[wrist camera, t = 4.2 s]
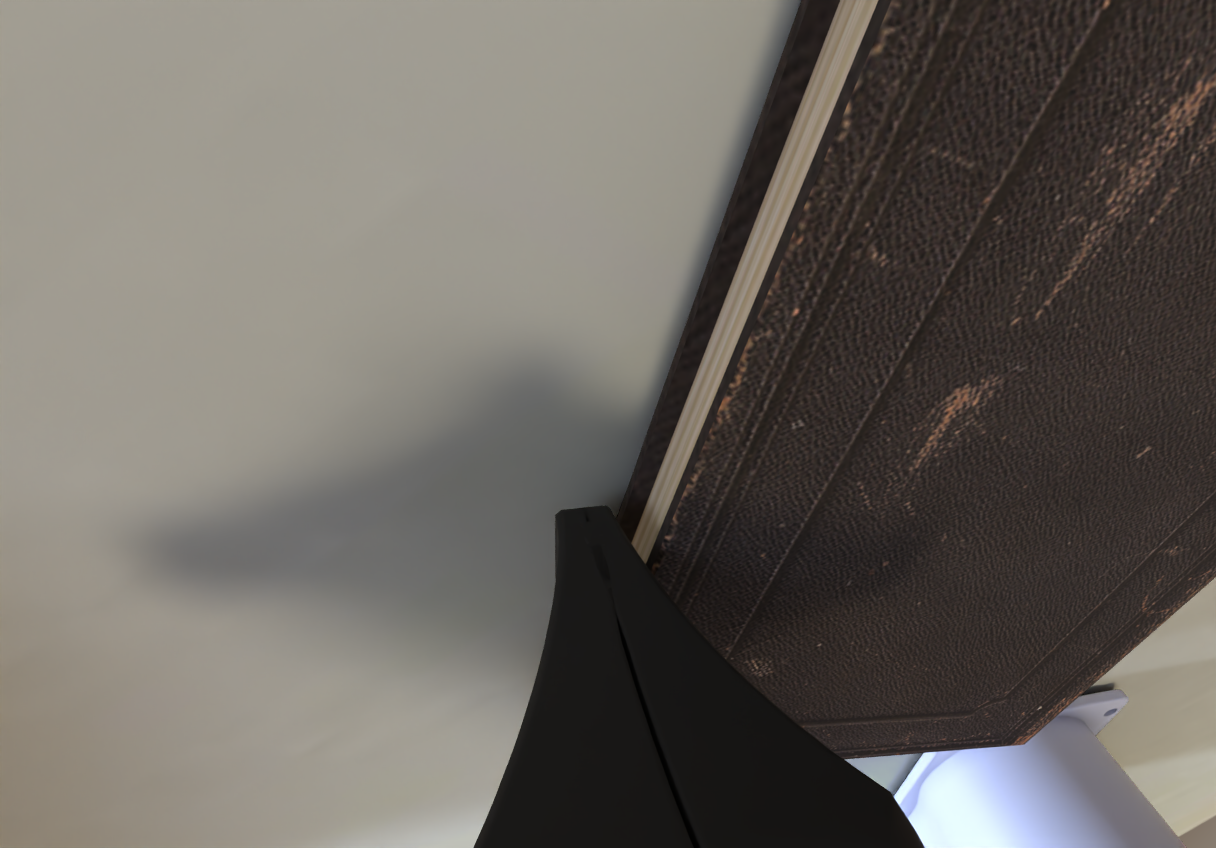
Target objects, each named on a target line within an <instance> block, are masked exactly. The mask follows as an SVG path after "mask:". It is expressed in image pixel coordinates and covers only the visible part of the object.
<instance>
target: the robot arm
mask: <svg viewBox="0 0 1216 848" xmlns="http://www.w3.org/2000/svg"><path fill="white" fill-rule="evenodd" d="M555 561H556V583H555V591H554V599H553V605H552V610H551V615H550V620H549V625H548V630H547V635H546V640H545V644H544V649H543V653H542V657H541V661H540V665H539V669H538V672H537V676H536V679H535V683H534V687H533V690H532V694H531V697H530V700H529V703H528V706H527V710H526V713H525V716H524V719H523V722H522V725H521V729H520V731H519V734H518V737H517V740H516V743H515V746H514V749H513V752H512V754H511V757H510V760H509V762H508V765H507V767H506V770H505V773H504V775H503V778H502V780H501V783H500V786H499V788H498V791H497V794H496V796H495V799H494V801H493V804H492V806H491V809H490V811H489V814H488V816H487V818H486V821H485V823H484V825H483V827H482V830H481V832H480V834H479V836H478V839H477V841H476V843H475V846H474V848H1187V847H1186V846H1185V845H1184V844H1183V842H1182V841H1181V840H1180V839H1179V837H1178V836H1177V835H1176V834H1175V833H1174V831H1173V830H1172V829H1171V828H1170V826H1169V825H1168V824H1167V823H1166V822H1165V820H1164V819H1163V818H1162V817H1161V815H1160V814H1159V813H1158V812H1157V811H1156V809H1155V808H1154V807H1153V806H1152V804H1151V803H1150V802H1149V801H1148V800H1147V798H1146V797H1145V796H1144V795H1143V793H1142V792H1141V791H1140V790H1139V789H1138V787H1137V786H1136V785H1135V784H1134V782H1133V781H1132V780H1131V779H1130V778H1129V776H1128V775H1127V774H1126V773H1125V771H1124V770H1123V769H1122V768H1121V767H1120V765H1119V764H1118V763H1117V762H1116V760H1115V759H1114V758H1113V757H1112V756H1111V754H1110V753H1109V752H1108V751H1107V749H1106V748H1105V747H1104V746H1103V745H1102V743H1101V742H1100V741H1099V740H1098V738H1097V737H1096V735H1097V734H1098V733H1099V732H1100V731H1101V730H1102V729H1103V728H1104V727H1105V726H1106V724H1107V723H1108V722H1109V721H1110V720H1111V719H1112V718H1113V717H1114V716H1115V715H1116V714H1117V713H1118V712H1119V711H1120V710H1121V709H1122V708H1123V707H1124V706H1125V705H1126V704H1127V703H1128V700H1129V698H1128V697H1127V696H1126V695H1125V693H1124V692H1123V691H1122V690H1119V689H1115V690H1109V691H1104V692H1098V693H1093V694H1088V695H1082V696H1079V697H1078V698H1077V699H1076V700H1075V701H1074V702H1072V703H1071V704H1070V705H1069V706H1068V707H1067V708H1066V709H1064V710H1063V711H1062V712H1061V713H1060V714H1059V715H1058V716H1056V717H1055V718H1054V719H1053V720H1052V721H1051V722H1050V723H1048V724H1047V725H1046V726H1045V727H1044V728H1043V729H1042V730H1040V731H1039V732H1038V733H1037V734H1036V735H1035V736H1034V737H1033V738H1031V739H1030V740H1029V741H1028V742H1027V743H1026V744H1025V745H1016V746H1003V747H991V748H978V749H966V750H953V751H941V752H928V753H923V755H922V756H921V758H920V759H919V760H918V762H917V763H916V765H915V766H914V768H913V769H912V771H911V772H910V774H909V775H908V777H907V778H906V779H905V781H904V782H903V784H902V785H901V787H900V788H899V790H898V791H897V793H896V794H895V796H894V797H893V795H892V794H891V792H890V791H888V790H887V789H885V788H884V787H882V786H881V785H879V784H878V783H876V782H875V781H874V780H872V779H871V778H869V777H868V776H866V775H865V774H863V773H862V772H861V771H859V770H858V769H856V768H855V767H854V766H852V765H851V764H849V763H848V762H847V761H845V760H844V759H843V758H841V757H840V756H838V755H837V754H836V753H834V752H833V751H832V750H830V749H829V748H828V747H826V746H825V745H824V744H823V743H821V742H820V741H819V740H817V739H816V738H815V737H814V736H812V735H811V734H810V733H808V732H807V731H806V730H805V729H803V728H802V727H801V726H800V725H798V724H797V723H796V722H795V721H794V720H793V719H791V718H790V717H789V716H788V715H787V714H786V713H784V712H783V711H782V710H781V709H780V708H779V707H777V706H776V705H775V704H774V703H773V702H772V701H770V700H769V699H768V698H767V697H766V696H765V695H763V694H762V693H761V692H760V691H759V690H758V689H756V688H755V687H754V686H753V685H752V684H751V683H750V682H749V681H748V680H747V679H746V678H745V677H744V676H743V675H742V674H741V673H739V672H738V671H737V670H736V669H735V668H734V667H733V666H732V665H731V664H730V663H729V662H728V661H727V660H726V659H725V658H724V657H723V656H722V655H721V654H720V653H719V652H718V651H717V650H716V649H715V648H714V647H713V646H712V644H711V643H710V642H709V641H708V640H707V639H706V638H705V637H704V636H703V635H702V634H701V632H700V631H699V630H698V629H697V628H696V627H695V626H694V625H693V623H692V622H691V621H690V620H689V619H688V618H687V616H686V615H685V614H684V613H683V612H682V611H681V609H680V608H679V607H678V606H677V605H676V603H675V602H674V601H673V600H672V598H671V597H670V596H669V595H668V593H667V592H666V591H665V590H664V588H663V587H662V586H661V584H660V583H659V582H658V580H657V579H656V578H655V576H654V575H653V574H652V572H651V571H650V570H649V568H648V567H647V566H646V564H645V563H644V561H643V560H642V559H641V557H640V556H639V554H638V553H637V551H636V550H635V548H634V547H633V545H632V544H631V542H630V541H629V539H628V538H627V536H626V534H625V533H624V531H623V530H622V528H621V526H620V525H619V523H618V521H617V520H616V518H615V516H614V514H613V512H612V511H611V509H610V508H608V507H607V506H606V505H605V506H596V507H586V508H577V509H567V510H561V511H560V512H558V513H557V514H556V515H555Z"/></svg>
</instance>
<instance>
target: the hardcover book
mask: <svg viewBox="0 0 1216 848" xmlns="http://www.w3.org/2000/svg"><path fill="white" fill-rule="evenodd" d="M616 520H617V521H618V523H619V525H620V526H621V528H622V530H623V531H624V533H625V534H626V536H627V538H628V539H629V541H630V542H631V544H632V545H633V547H634V548H635V550H636V551H637V553H638V554H639V556H640V557H641V559H642V560H643V561H644V563H645V564H646V566H647V567H648V568H649V570H650V571H651V572H652V574H653V575H654V576H655V578H656V579H657V580H658V582H659V583H660V584H661V586H662V587H663V588H664V590H665V591H666V592H667V593H668V595H669V596H670V597H671V598H672V600H673V601H674V602H675V603H676V605H677V606H678V607H679V608H680V609H681V611H682V612H683V613H684V614H685V615H686V616H687V618H688V619H689V620H690V621H691V622H692V623H693V625H694V626H695V627H696V628H697V629H698V630H699V631H700V632H701V634H702V635H703V636H704V637H705V638H706V639H707V640H708V641H709V642H710V643H711V644H712V646H713V647H714V648H715V649H716V650H717V651H718V652H719V653H720V654H721V655H722V656H723V657H724V658H725V659H726V660H727V661H728V662H729V663H730V664H731V665H732V666H733V667H734V668H735V669H736V670H737V671H738V672H739V673H741V674H742V675H743V676H744V677H745V678H746V679H747V680H748V681H749V682H750V683H751V684H752V685H753V686H754V687H755V688H756V689H758V690H759V691H760V692H761V693H762V694H763V695H765V696H766V697H767V698H768V699H769V700H770V701H772V702H773V703H774V704H775V705H776V706H777V707H779V708H780V709H781V710H782V711H783V712H784V713H786V714H787V715H788V716H789V717H790V718H791V719H793V720H794V721H795V722H796V723H797V724H798V725H800V726H801V727H802V728H803V729H805V730H806V731H807V732H808V733H810V734H811V735H812V736H814V737H815V738H816V739H817V740H819V741H820V742H821V743H823V744H824V745H825V746H826V747H828V748H829V749H830V750H832V751H833V752H834V753H836V754H837V755H838V756H840V757H841V758H843V759H853V758H866V757H878V756H891V755H903V754H916V753H928V752H941V751H953V750H966V749H978V748H991V747H1003V746H1016V745H1025V744H1026V743H1027V742H1028V741H1029V740H1030V739H1031V738H1033V737H1034V736H1035V735H1036V734H1037V733H1038V732H1039V731H1040V730H1042V729H1043V728H1044V727H1045V726H1046V725H1047V724H1048V723H1050V722H1051V721H1052V720H1053V719H1054V718H1055V717H1056V716H1058V715H1059V714H1060V713H1061V712H1062V711H1063V710H1064V709H1066V708H1067V707H1068V706H1069V705H1070V704H1071V703H1072V702H1074V701H1075V700H1076V699H1077V698H1078V697H1079V696H1080V695H1082V694H1083V693H1084V692H1085V691H1086V690H1087V689H1088V688H1090V687H1091V686H1092V685H1093V684H1094V683H1095V682H1096V681H1098V680H1099V679H1100V678H1101V677H1102V676H1103V675H1104V674H1106V673H1107V672H1108V671H1109V670H1110V669H1111V668H1112V667H1114V666H1115V665H1116V664H1117V663H1118V662H1119V661H1120V660H1122V659H1123V658H1124V657H1125V656H1126V655H1127V654H1128V653H1130V652H1131V651H1132V650H1133V649H1134V648H1135V647H1136V646H1138V645H1139V644H1140V643H1141V642H1142V641H1143V640H1144V639H1146V638H1147V637H1148V636H1149V635H1150V634H1151V633H1152V632H1154V631H1155V630H1156V629H1157V628H1158V627H1159V626H1160V625H1162V624H1163V623H1164V622H1165V621H1166V620H1167V619H1168V618H1170V617H1171V616H1172V615H1173V614H1174V613H1175V612H1176V611H1177V610H1179V609H1180V608H1181V607H1182V606H1183V605H1184V604H1185V603H1187V602H1188V601H1189V600H1190V599H1191V598H1192V597H1193V596H1195V595H1196V594H1197V593H1198V592H1199V591H1200V590H1201V589H1203V588H1204V587H1205V586H1206V585H1207V584H1208V583H1209V582H1211V581H1212V580H1213V579H1214V578H1215V577H1216V0H801V3H800V6H799V8H798V11H797V14H796V17H795V20H794V23H793V25H792V28H791V31H790V34H789V37H788V39H787V42H786V45H785V48H784V51H783V53H782V56H781V59H780V62H779V65H778V67H777V70H776V73H775V76H774V79H773V81H772V84H771V87H770V90H769V93H768V95H767V98H766V101H765V104H764V107H763V110H762V112H761V115H760V118H759V121H758V124H757V126H756V129H755V132H754V135H753V138H752V140H751V143H750V146H749V149H748V152H747V154H746V157H745V160H744V163H743V166H742V168H741V171H740V174H739V177H738V180H737V183H736V185H735V188H734V191H733V194H732V197H731V199H730V202H729V205H728V208H727V211H726V213H725V216H724V219H723V222H722V225H721V227H720V230H719V233H718V236H717V239H716V241H715V244H714V247H713V250H712V253H711V255H710V258H709V261H708V264H707V267H706V270H705V272H704V275H703V278H702V281H701V284H700V286H699V289H698V292H697V295H696V298H695V300H694V303H693V306H692V309H691V312H690V314H689V317H688V320H687V323H686V326H685V328H684V331H683V334H682V337H681V340H680V342H679V345H678V348H677V351H676V354H675V357H674V359H673V362H672V365H671V368H670V371H669V373H668V376H667V379H666V382H665V385H664V387H663V390H662V393H661V396H660V399H659V401H658V404H657V407H656V410H655V413H654V415H653V418H652V421H651V424H650V427H649V429H648V432H647V435H646V438H645V441H644V444H643V446H642V449H641V452H640V455H639V458H638V460H637V463H636V466H635V469H634V472H633V474H632V477H631V480H630V483H629V486H628V488H627V491H626V494H625V497H624V500H623V502H622V505H621V508H620V511H619V514H618V516H617V519H616Z"/></svg>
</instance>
